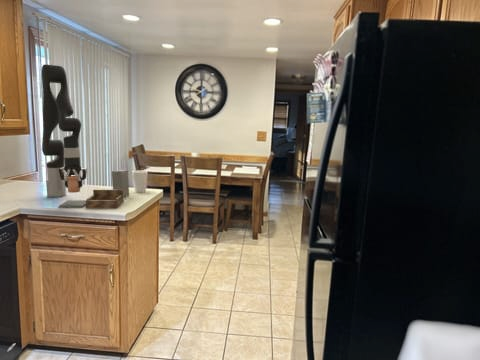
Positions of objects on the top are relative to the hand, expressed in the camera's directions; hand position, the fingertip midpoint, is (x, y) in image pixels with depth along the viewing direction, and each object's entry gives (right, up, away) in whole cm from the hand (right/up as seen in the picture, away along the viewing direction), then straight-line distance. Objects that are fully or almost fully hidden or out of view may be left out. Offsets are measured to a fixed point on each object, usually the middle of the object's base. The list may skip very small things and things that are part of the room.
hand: (74, 187), depth 184 cm
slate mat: (0, -9, +2) cm, 10 cm away
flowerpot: (0, -2, 0) cm, 2 cm away
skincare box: (+16, -6, +25) cm, 31 cm away
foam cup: (+24, -3, +40) cm, 47 cm away
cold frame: (+16, -10, +3) cm, 19 cm away
